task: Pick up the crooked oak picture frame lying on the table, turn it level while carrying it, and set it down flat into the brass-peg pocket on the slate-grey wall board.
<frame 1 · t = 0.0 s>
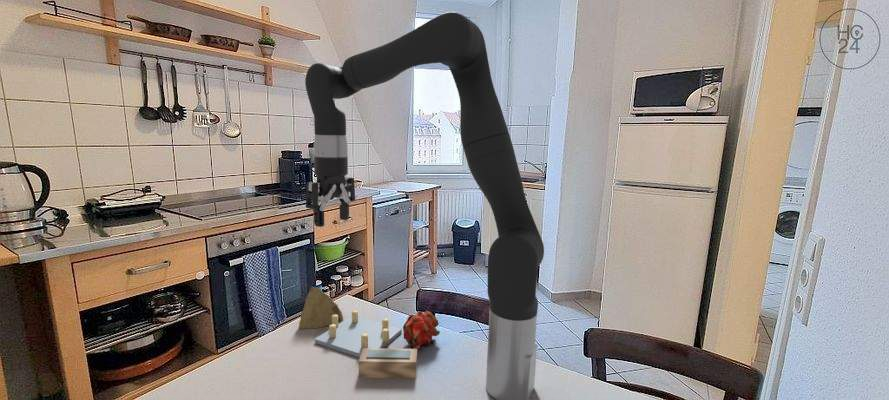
hand: (332, 222, 92), 29 cm above the table, tool pointing down, fingers open, 8 cm apart
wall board: (359, 337, 96), on the table
rock: (322, 325, 102), on the table
dragon fruit: (420, 345, 94), on the table
frame: (388, 371, 83), on the table
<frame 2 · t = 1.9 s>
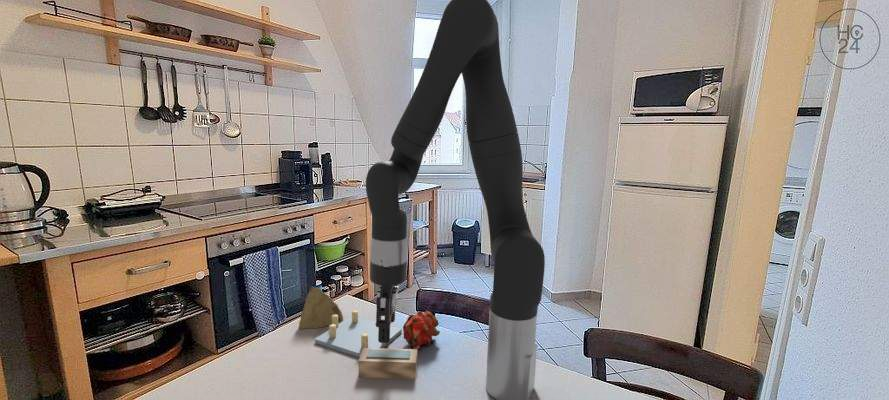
hand: (386, 331, 81), 9 cm above the table, tool pointing down, fingers open, 8 cm apart
nothing on the table moved.
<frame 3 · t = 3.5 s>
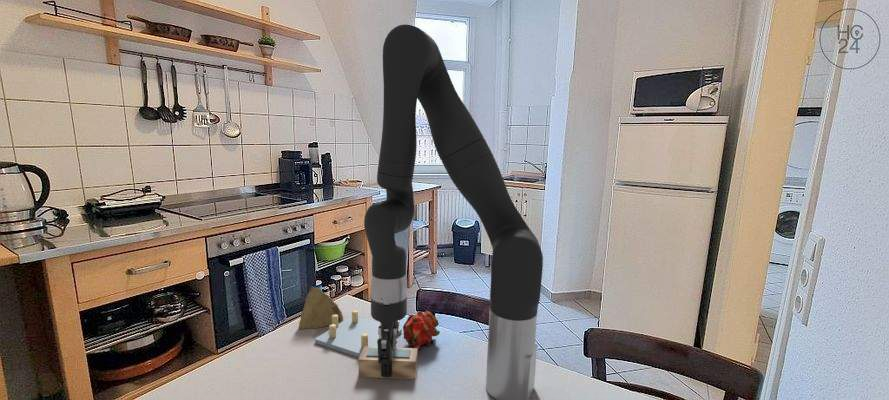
hand: (388, 367, 83), 1 cm above the table, tool pointing down, fingers closed on frame, 5 cm apart
frame: (388, 370, 83), on the table, touching gripper
everything else where it was.
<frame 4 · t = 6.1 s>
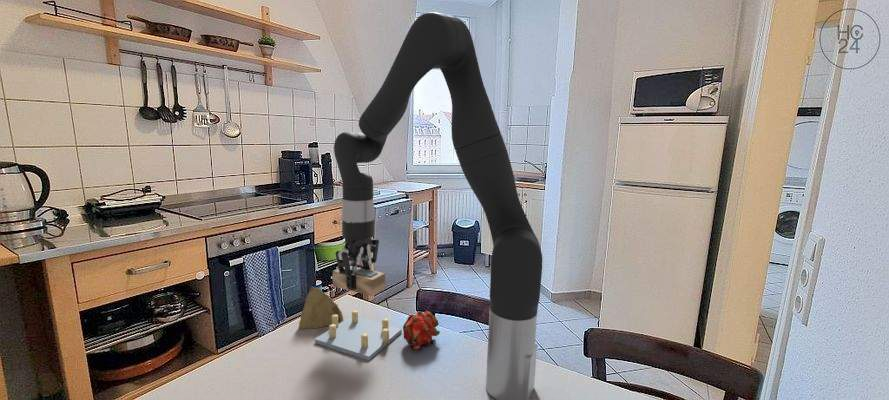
hand: (358, 284, 94), 14 cm above the table, tool pointing down, fingers closed on frame, 5 cm apart
frame: (358, 287, 94), point 13 cm above the table, touching gripper
everything else where it was.
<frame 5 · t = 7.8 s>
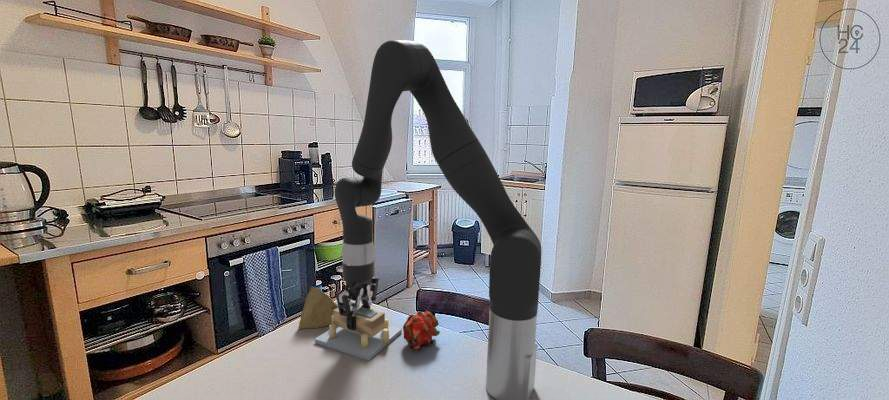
hand: (358, 324, 95), 4 cm above the table, tool pointing down, fingers closed on frame, 5 cm apart
frame: (358, 326, 95), point 3 cm above the table, touching gripper
everything else where it was.
when the fingers open (3 cm above the table, at t = 8.9 s): frame drops 1 cm, resting on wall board.
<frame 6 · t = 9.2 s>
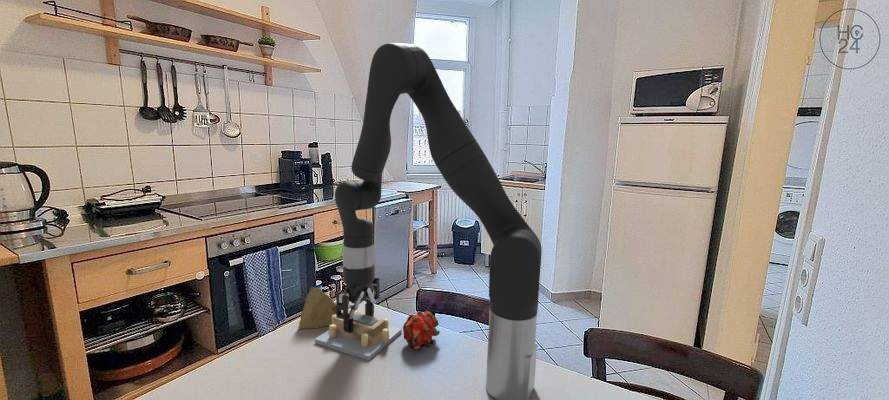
hand: (359, 324, 95), 4 cm above the table, tool pointing down, fingers open, 8 cm apart
frame: (359, 333, 96), point 1 cm above the table, touching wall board
everything else where it was.
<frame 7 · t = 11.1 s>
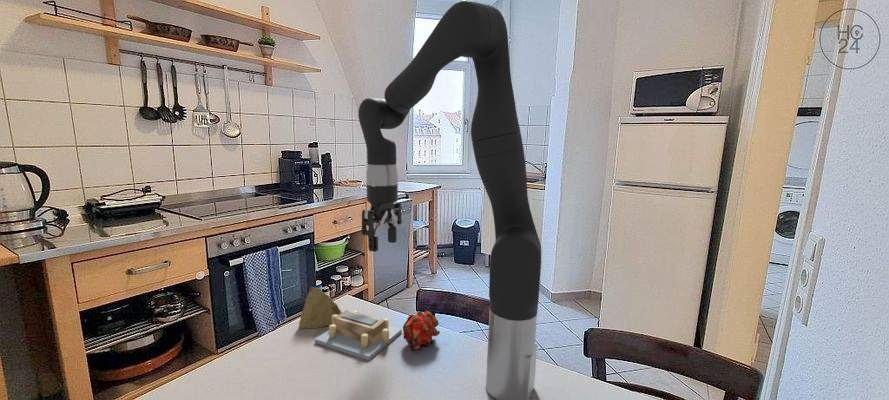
hand: (383, 246, 96), 23 cm above the table, tool pointing down, fingers open, 8 cm apart
nothing on the table moved.
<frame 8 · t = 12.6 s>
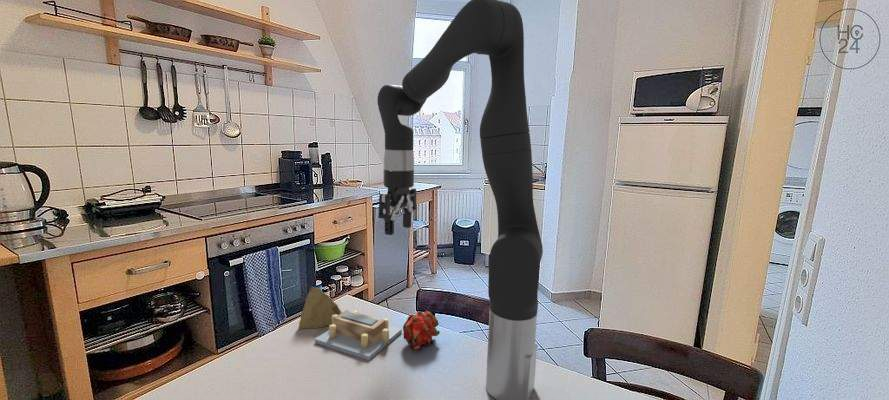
hand: (398, 230, 98), 26 cm above the table, tool pointing down, fingers open, 8 cm apart
nothing on the table moved.
at the end: frame 0.0 cm off-centre on the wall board, point 1.0 cm above the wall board's base; frame tilted 0°; the gripper is holding nothing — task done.
